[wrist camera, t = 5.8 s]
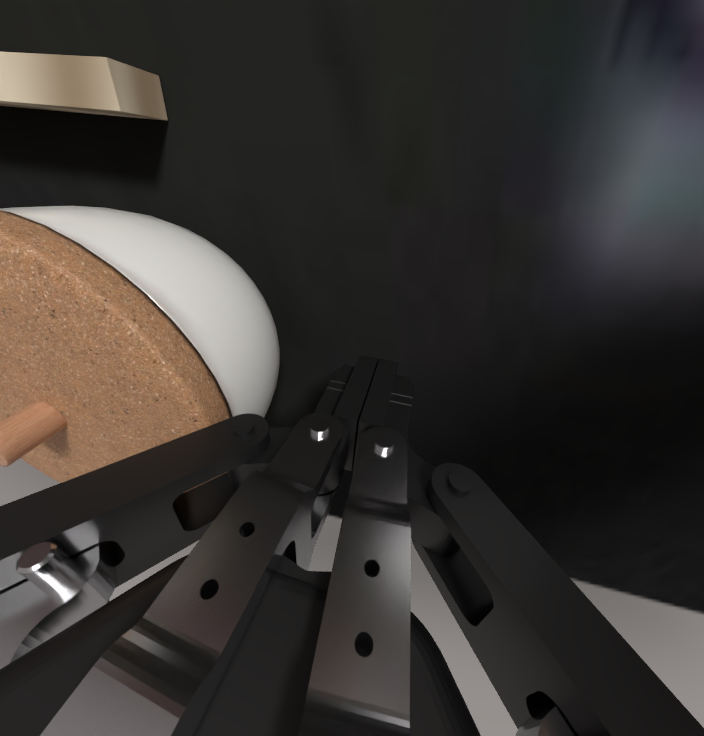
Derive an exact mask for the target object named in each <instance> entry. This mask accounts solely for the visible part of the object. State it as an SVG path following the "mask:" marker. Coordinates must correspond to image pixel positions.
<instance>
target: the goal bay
mask: <svg viewBox="0 0 704 736" xmlns="http://www.w3.org/2000/svg"><path fill="white" fill-rule="evenodd" d="M0 106H9V107H20V108H31V109H43V110H54V111H65V112H77V113H88V114H100V115H111V116H122V117H134V118H145V119H156V120H168V119H167V114H166V109H165V104H164V99H163V94H162V89H161V84H160V79H159V76H158V75H155V74H152V73H149V72H146V71H143V70H141V69H138V68H135V67H132V66H129V65H126V64H124V63H121V62H118V61H115V60H112V59H110V58H107V57H90V56H71V55H52V54H34V53H15V52H0Z"/></svg>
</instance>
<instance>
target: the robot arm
mask: <svg viewBox="0 0 704 736" xmlns="http://www.w3.org/2000/svg"><path fill="white" fill-rule="evenodd" d="M397 367H398V362H393V361H388V360H383V359H380V360H379V359H377V358H372V357H367V356H362V355H360V356H359V358H358V361H357V363H356V365H355V367H352V366H347V365H344V366H342V367H341V368H339V369H338V370H337V371H335V373H334V375H333V377H332V379H331V381H330V382H329V384H328V386H327V388H326V390H325V392H324V394H323V395H322V397H321V399H320V401H319V403H318V405H317V407H316V409H315V410H314V412H313V413H312V414H309V415H307V416H305V417H303V418H302V419H301V420H300V421H299V422H298V423H297V425H296V426H291V427H269V426H268V423H267V421H266V420H265V418H263V417H262V416H260V415H257V414H250V413H247V414H240V415H237V416H234V417H231V418H229V419H226V420H223V421H221V422H218V423H216V424H213V425H210V426H208V427H205V428H203V429H200V430H197V431H195V432H192V433H190V434H187V435H184V436H182V437H179V438H177V439H174V440H171V441H169V442H166V443H164V444H161V445H159V446H156V447H153V448H151V449H148V450H146V451H143V452H140V453H138V454H135V455H133V456H130V457H127V458H125V459H122V460H120V461H117V462H114V463H112V464H109V465H107V466H104V467H101V468H99V469H96V470H94V471H91V472H88V473H86V474H83V475H81V476H78V477H75V478H73V479H70V480H68V481H65V482H62V483H60V484H57V485H55V486H52V487H49V488H47V489H44V490H42V491H39V492H37V493H34V494H31V495H29V496H26V497H24V498H21V499H18V500H16V501H13V502H11V503H8V504H5V505H3V506H0V736H480V733H479V731H478V729H477V727H476V725H475V723H474V720H473V718H472V716H471V714H470V712H469V710H468V708H467V706H466V703H465V701H464V699H463V697H462V695H461V693H460V691H459V689H458V687H457V685H456V683H455V680H454V678H453V676H452V674H451V672H450V670H449V668H448V665H447V663H446V661H445V659H444V657H443V655H442V653H441V651H440V649H439V648H438V646H437V645H436V643H435V641H434V639H433V638H432V636H431V635H430V633H429V632H428V630H427V629H426V628H425V626H424V625H423V624H422V623H421V622H420V621H419V619H418V618H417V617H416V616H415V615H414V614H413V613H412V612H411V611H410V598H411V597H410V596H411V594H410V593H411V590H410V589H411V538H412V541H413V544H414V547H415V549H416V551H417V552H418V554H419V556H420V558H421V559H422V561H423V563H424V565H425V566H426V568H427V570H428V572H429V573H430V575H431V577H432V579H433V581H434V582H435V584H436V586H437V588H438V589H439V591H440V593H441V595H442V596H443V598H444V600H445V602H446V603H447V605H448V607H449V609H450V610H451V612H452V614H453V616H454V617H455V619H456V621H457V623H458V624H459V626H460V628H461V630H462V631H463V633H464V635H465V637H466V639H467V640H468V642H469V644H470V646H471V647H472V649H473V651H474V653H475V654H476V656H477V658H478V659H479V661H480V663H481V665H482V667H483V668H484V670H485V672H486V674H487V675H488V677H489V679H490V681H491V683H492V684H493V686H494V688H495V690H496V691H497V693H498V695H499V696H500V698H501V700H502V702H503V704H504V705H505V707H506V709H507V711H508V712H509V714H510V716H511V718H512V719H513V721H514V723H515V725H516V726H517V728H518V731H517V733H516V736H704V728H703V727H702V726H701V725H700V724H699V722H698V721H697V720H696V719H695V718H694V717H693V716H692V715H691V713H690V712H689V711H688V710H687V709H686V708H685V707H684V706H683V705H682V704H681V702H680V701H679V700H678V699H677V698H676V697H675V696H674V695H673V693H672V692H671V691H670V690H669V689H668V688H667V687H666V686H665V684H664V683H663V682H662V681H661V680H660V679H659V678H658V677H657V675H656V674H655V673H654V672H653V671H652V670H651V669H650V668H649V666H648V665H647V664H646V663H645V662H644V661H643V660H642V659H641V658H640V656H639V655H638V654H637V653H636V652H635V651H634V650H633V648H632V647H631V646H630V645H629V644H628V643H627V642H626V641H625V639H623V638H622V636H621V635H620V634H619V633H618V632H617V631H616V629H615V628H614V627H613V626H612V625H611V624H610V623H609V622H608V620H607V619H606V618H605V617H604V616H603V615H602V614H601V613H600V611H599V610H598V609H597V608H596V607H595V606H594V605H593V604H592V603H591V601H590V600H589V599H588V598H587V597H586V596H585V595H584V594H583V593H582V591H581V590H580V589H579V588H578V587H577V586H576V585H575V583H574V582H573V581H572V580H571V579H570V578H569V577H568V576H567V574H566V573H565V572H564V571H563V570H562V569H561V568H560V567H559V565H558V564H557V563H556V562H555V561H554V560H553V559H552V558H551V556H550V555H549V554H548V553H547V552H546V551H545V550H544V549H543V548H542V546H541V545H540V544H539V543H538V542H537V541H536V540H535V539H534V537H533V536H532V535H531V534H530V533H529V532H528V531H527V530H526V528H525V527H524V526H523V525H522V524H521V523H520V522H519V521H518V519H517V518H516V517H515V516H514V515H513V514H512V513H511V512H510V510H509V509H508V508H507V507H506V506H505V505H504V504H503V503H502V502H501V500H500V499H499V498H498V497H497V496H496V495H495V494H494V493H493V491H492V490H491V489H490V488H489V487H488V486H487V485H486V484H485V482H484V481H483V480H482V479H481V478H480V477H479V476H478V475H477V474H476V473H475V472H474V471H472V470H471V469H469V468H468V467H465V466H463V465H460V464H456V463H444V464H441V465H439V466H438V467H435V466H434V465H432V464H430V463H428V462H426V461H424V460H423V459H421V458H420V457H419V456H417V455H416V454H415V453H414V451H413V450H412V449H411V447H410V445H409V442H408V430H409V422H410V414H411V407H412V398H413V391H414V386H413V384H412V382H411V380H410V378H407V377H402V376H397V375H396V372H397ZM353 464H354V468H353V476H352V481H351V486H350V491H349V496H348V500H347V501H346V505H345V509H344V514H343V519H342V524H341V529H340V534H339V539H338V544H337V548H336V553H335V558H334V564H333V568H332V572H316V571H313V572H312V571H308V568H309V565H310V561H311V557H312V553H313V549H314V546H315V543H316V540H317V538H318V536H319V533H320V531H321V529H322V526H323V524H324V522H325V519H326V517H327V514H328V512H329V510H330V507H331V505H332V503H333V500H334V498H335V495H336V493H337V490H338V484H339V483H340V480H341V477H342V474H343V471H344V469H345V470H349V471H352V467H353ZM225 472H227V473H225ZM223 473H225V474H223ZM221 474H223V475H221ZM219 475H220V476H219ZM217 476H218V477H217ZM215 477H216V478H215ZM213 478H214V479H213ZM211 479H212V480H211ZM209 480H210V481H209ZM206 481H208V482H206ZM204 482H206V483H204ZM202 483H204V484H202ZM200 484H202V485H200ZM198 485H200V486H198ZM196 486H198V487H196ZM194 487H195V488H194ZM192 488H193V489H192ZM190 489H191V490H190ZM188 490H189V491H188ZM186 491H187V492H186ZM184 492H185V493H184ZM198 540H199V542H198V543H197V544H196V546H195V547H194V548H193V550H192V551H191V553H190V554H189V555H187V556H185V557H183V558H181V559H178V560H177V561H175V562H173V563H171V564H170V565H168V566H167V567H165V568H163V569H162V570H160V571H158V572H157V573H155V574H153V575H152V576H150V577H149V578H147V579H145V580H144V581H142V582H141V583H139V584H137V585H136V586H134V587H133V588H131V589H129V590H128V591H126V592H124V593H123V594H121V595H120V596H118V597H116V598H115V599H113V600H112V601H110V602H109V598H110V597H111V595H112V593H113V591H114V589H115V588H116V587H118V586H119V585H121V584H123V583H125V582H126V581H128V580H130V579H132V578H133V577H135V576H137V575H138V574H140V573H142V572H144V571H145V570H147V569H149V568H151V567H152V566H154V565H156V564H158V563H159V562H161V561H163V560H165V559H166V558H168V557H170V556H172V555H173V554H175V553H177V552H179V551H180V550H182V549H184V548H186V547H187V546H189V545H191V544H193V543H194V542H196V541H198Z"/></svg>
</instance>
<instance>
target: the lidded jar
mask: <svg viewBox="0 0 704 736" xmlns="http://www.w3.org/2000/svg"><path fill="white" fill-rule="evenodd" d="M279 365H280V348H279V342H278V337H277V331H276V326H275V323H274V320H273V317H272V314H271V312H270V310H269V308H268V306H267V304H266V301H265V299H264V297H263V296H262V294H261V293H260V291H259V290H258V288H257V287H256V285H255V284H254V282H253V281H252V280H251V279H250V277H249V276H248V275H247V274H246V273H245V271H244V270H243V269H242V268H241V267H240V266H239V265H238V264H237V263H236V262H235V261H234V260H233V259H231V258H230V257H229V256H228V255H227V254H226V253H224V252H223V251H222V250H220V249H219V248H217V247H216V246H215V245H213V244H212V243H210V242H209V241H207V240H206V239H204V238H202V237H201V236H199V235H197V234H195V233H193V232H191V231H190V230H188V229H186V228H183V227H180V226H177V225H175V224H172V223H169V222H167V221H164V220H161V219H158V218H155V217H153V216H149V215H143V214H138V213H133V212H127V211H121V210H115V209H109V208H101V207H84V206H47V207H18V208H3V209H0V465H1V466H4V467H7V466H9V465H11V464H12V463H14V462H15V461H16V460H18V459H19V458H21V459H23V460H24V461H26V462H27V463H29V464H30V465H32V466H33V467H35V468H37V469H38V470H40V471H41V472H43V473H44V474H46V475H48V476H49V477H51V478H53V479H55V480H57V481H58V482H60V483H62V482H65V481H68V480H70V479H73V478H75V477H78V476H81V475H83V474H86V473H88V472H91V471H94V470H96V469H99V468H101V467H104V466H107V465H109V464H112V463H114V462H117V461H120V460H122V459H125V458H127V457H130V456H133V455H135V454H138V453H140V452H143V451H146V450H148V449H151V448H153V447H156V446H159V445H161V444H164V443H166V442H169V441H171V440H174V439H177V438H179V437H182V436H184V435H187V434H190V433H192V432H195V431H197V430H200V429H203V428H205V427H208V426H210V425H213V424H216V423H218V422H221V421H223V420H226V419H229V418H231V417H234V416H237V415H240V414H247V413H250V414H257V415H260V416H262V417H263V418H264V417H265V415H266V413H267V410H268V408H269V405H270V403H271V400H272V397H273V395H274V392H275V389H276V385H277V379H278V373H279ZM225 473H227V472H225ZM225 473H223V474H225ZM223 474H221V475H223ZM219 476H220V475H219ZM217 477H218V476H217ZM215 478H216V477H215ZM213 479H214V478H213ZM211 480H212V479H211ZM209 481H210V480H209ZM206 482H208V481H206ZM206 482H204V483H206ZM204 483H202V484H204ZM202 484H200V485H202ZM200 485H198V486H200ZM198 486H196V487H198ZM194 488H195V487H194ZM192 489H193V488H192ZM190 490H191V489H190ZM188 491H189V490H188ZM186 492H187V491H186ZM184 493H185V492H184Z"/></svg>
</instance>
